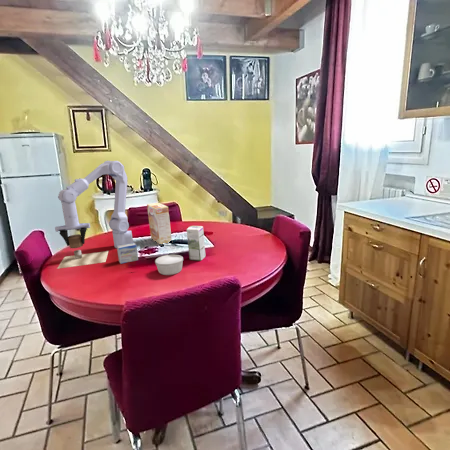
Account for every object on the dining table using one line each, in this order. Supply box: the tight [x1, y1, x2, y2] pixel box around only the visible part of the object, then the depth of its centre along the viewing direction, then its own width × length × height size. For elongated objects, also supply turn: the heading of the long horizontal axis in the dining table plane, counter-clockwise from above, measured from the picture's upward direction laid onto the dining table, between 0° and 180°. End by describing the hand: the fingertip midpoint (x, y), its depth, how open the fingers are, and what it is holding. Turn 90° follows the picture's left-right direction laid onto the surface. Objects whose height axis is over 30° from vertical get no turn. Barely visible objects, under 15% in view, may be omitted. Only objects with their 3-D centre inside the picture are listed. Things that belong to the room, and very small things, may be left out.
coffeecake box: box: [146, 202, 173, 245], centre depth 178 cm, size 15×7×20 cm, turn 29°
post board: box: [56, 249, 109, 270], centre depth 154 cm, size 20×16×5 cm
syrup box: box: [186, 225, 206, 261], centre depth 148 cm, size 6×6×14 cm
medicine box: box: [116, 242, 139, 265], centre depth 148 cm, size 8×4×9 cm, turn 117°
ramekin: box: [154, 254, 184, 276], centre depth 137 cm, size 11×11×5 cm
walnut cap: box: [68, 233, 84, 249], centre depth 154 cm, size 6×6×5 cm
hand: (76, 244), depth 154 cm, fingers closed on walnut cap, 6 cm apart
